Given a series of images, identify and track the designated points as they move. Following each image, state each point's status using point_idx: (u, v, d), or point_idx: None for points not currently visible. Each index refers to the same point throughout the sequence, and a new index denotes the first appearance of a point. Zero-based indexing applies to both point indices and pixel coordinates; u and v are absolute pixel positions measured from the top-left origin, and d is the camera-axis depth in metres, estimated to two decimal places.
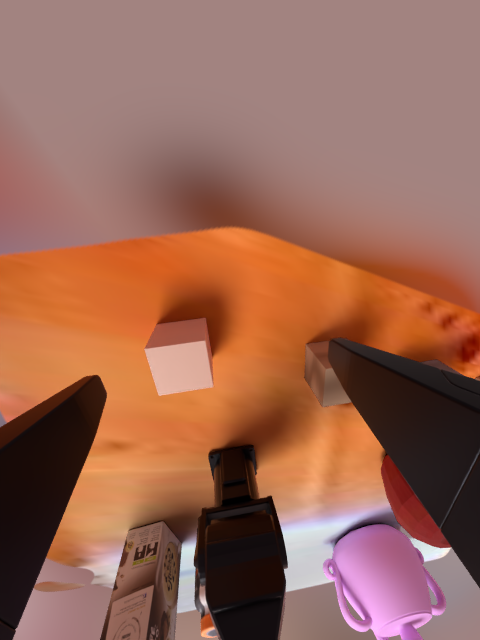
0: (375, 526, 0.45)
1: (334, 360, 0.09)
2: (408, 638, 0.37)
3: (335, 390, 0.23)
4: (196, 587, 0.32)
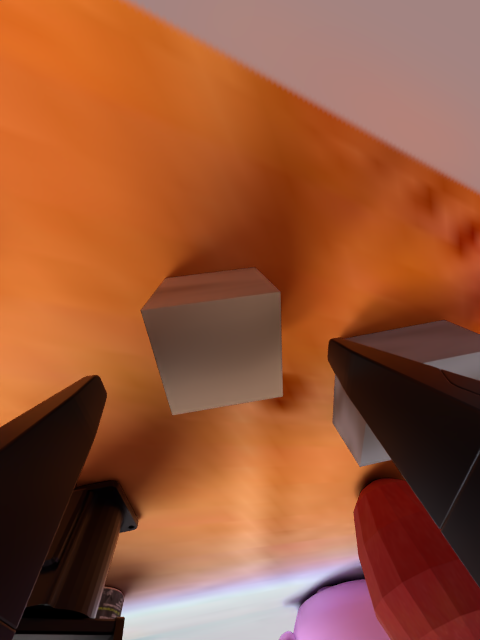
0: (355, 584, 0.31)
1: (334, 360, 0.09)
2: None
3: (192, 372, 0.09)
4: None
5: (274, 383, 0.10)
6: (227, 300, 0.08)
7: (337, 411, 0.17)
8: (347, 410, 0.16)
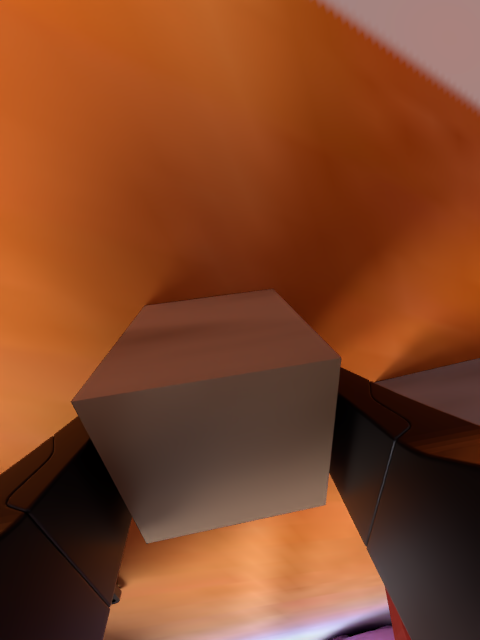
0: (375, 635, 0.27)
1: None
2: None
3: (178, 486, 0.05)
4: None
5: (315, 489, 0.06)
6: (242, 377, 0.04)
7: None
8: None
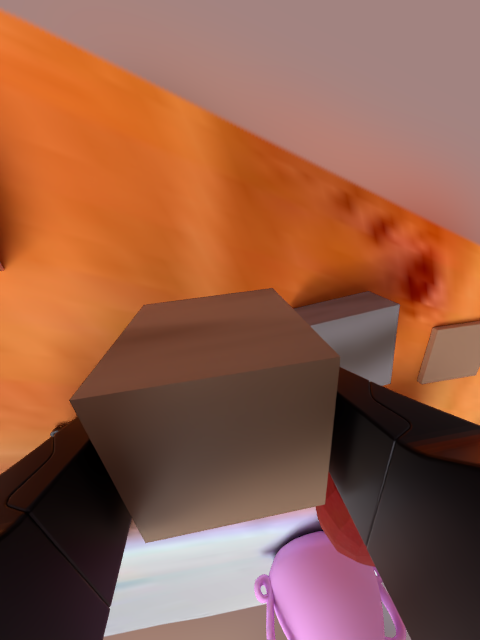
0: (322, 533, 0.36)
1: None
2: None
3: (177, 486, 0.05)
4: None
5: (314, 489, 0.06)
6: (240, 376, 0.04)
7: None
8: None
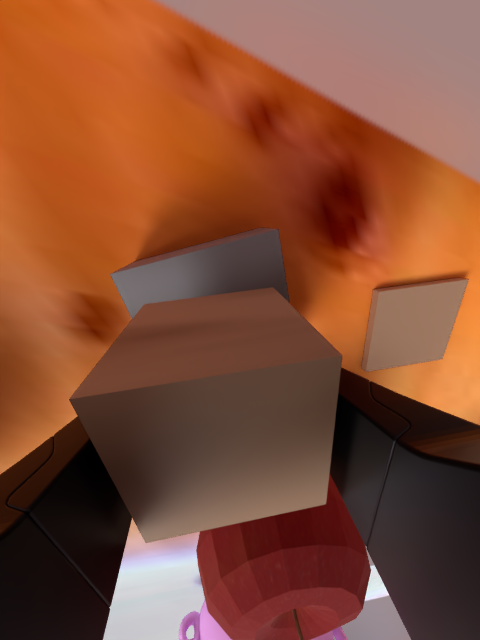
0: None
1: None
2: None
3: (177, 485, 0.05)
4: None
5: (315, 488, 0.06)
6: (241, 374, 0.04)
7: None
8: None
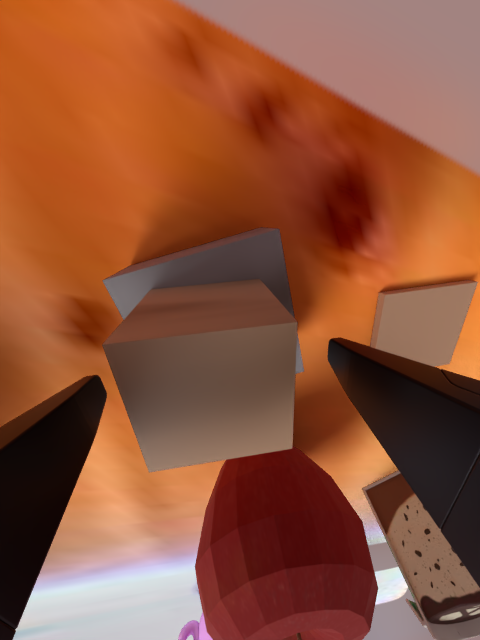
0: None
1: (334, 360, 0.09)
2: None
3: (175, 422, 0.07)
4: None
5: (283, 433, 0.08)
6: (224, 333, 0.06)
7: None
8: None
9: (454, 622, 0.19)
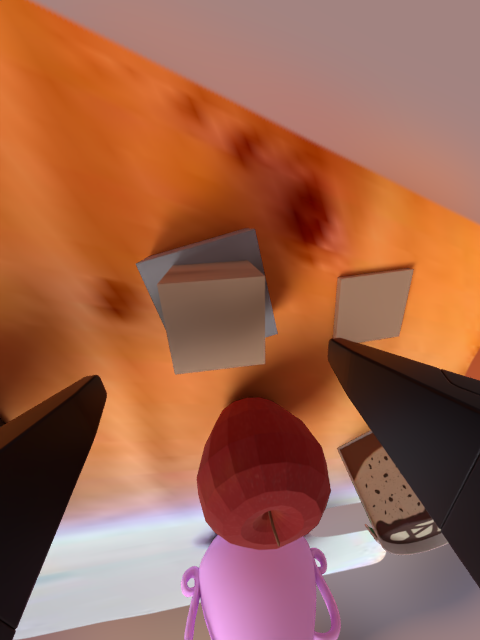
0: None
1: (334, 360, 0.09)
2: None
3: (193, 338, 0.11)
4: None
5: (259, 351, 0.12)
6: (223, 280, 0.10)
7: None
8: None
9: (403, 543, 0.23)
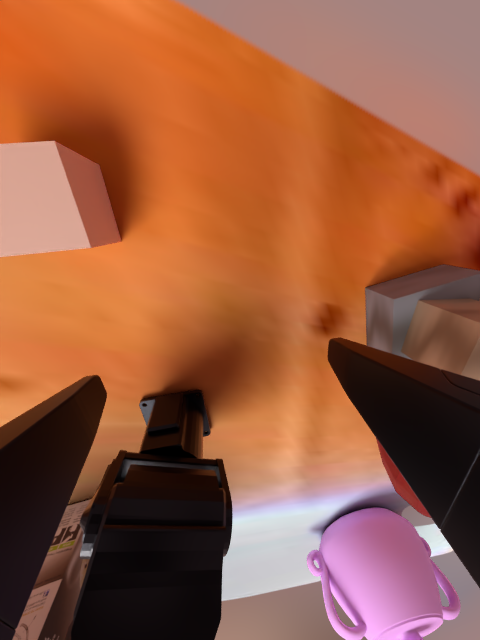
0: (371, 509, 0.37)
1: (334, 360, 0.09)
2: None
3: None
4: None
5: None
6: None
7: (369, 342, 0.24)
8: (378, 336, 0.22)
9: None
